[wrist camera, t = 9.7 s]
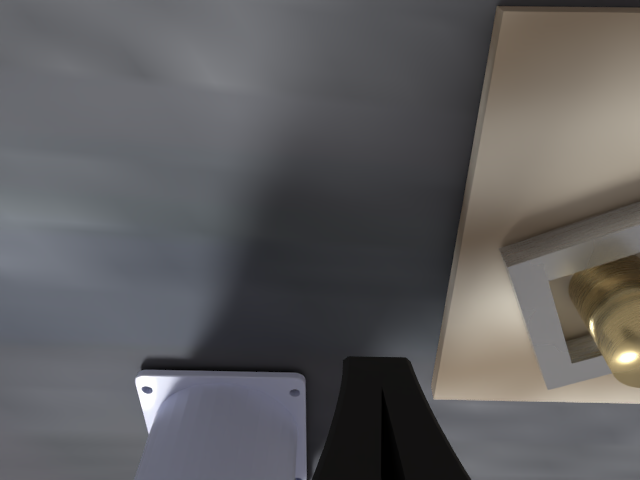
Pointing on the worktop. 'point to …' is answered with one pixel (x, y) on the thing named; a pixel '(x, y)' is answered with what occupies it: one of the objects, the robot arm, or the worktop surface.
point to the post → (612, 313)
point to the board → (539, 188)
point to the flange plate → (557, 261)
